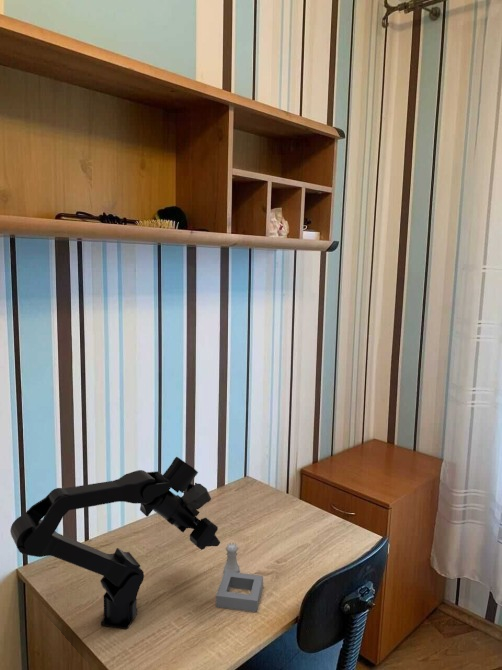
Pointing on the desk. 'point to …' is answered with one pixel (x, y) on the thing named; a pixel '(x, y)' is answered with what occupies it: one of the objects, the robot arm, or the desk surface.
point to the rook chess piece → (231, 559)
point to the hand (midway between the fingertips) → (209, 535)
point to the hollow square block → (238, 599)
